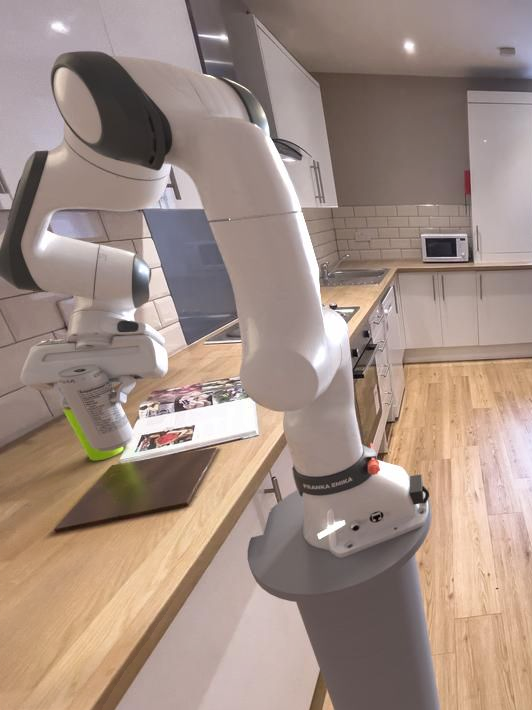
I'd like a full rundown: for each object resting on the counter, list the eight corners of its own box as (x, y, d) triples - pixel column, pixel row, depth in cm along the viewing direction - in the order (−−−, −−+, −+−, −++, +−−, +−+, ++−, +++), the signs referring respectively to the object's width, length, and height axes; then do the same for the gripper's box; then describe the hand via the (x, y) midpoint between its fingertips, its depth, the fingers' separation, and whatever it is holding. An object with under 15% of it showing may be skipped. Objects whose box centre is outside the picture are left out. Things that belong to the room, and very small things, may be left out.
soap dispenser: (134, 447, 97) (96, 369, 88) (97, 463, 91) (53, 381, 82) (120, 441, 99) (82, 365, 90) (84, 457, 93) (40, 377, 85)
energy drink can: (123, 432, 79) (88, 361, 73) (144, 438, 78) (110, 365, 71) (85, 449, 74) (44, 374, 68) (106, 455, 72) (66, 378, 66)
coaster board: (218, 449, 95) (217, 446, 95) (188, 505, 78) (187, 502, 77) (113, 468, 89) (111, 465, 89) (55, 532, 72) (53, 529, 72)
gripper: (16, 333, 71) (1, 408, 66) (155, 322, 76) (149, 391, 71) (47, 349, 76) (35, 419, 72) (174, 338, 82) (170, 403, 77)
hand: (93, 405), depth 72 cm, fingers closed on energy drink can, 6 cm apart
